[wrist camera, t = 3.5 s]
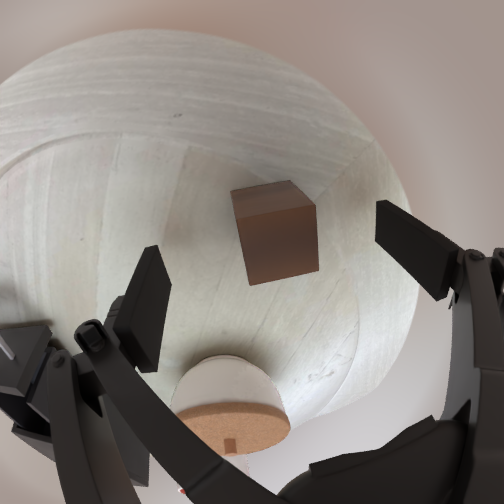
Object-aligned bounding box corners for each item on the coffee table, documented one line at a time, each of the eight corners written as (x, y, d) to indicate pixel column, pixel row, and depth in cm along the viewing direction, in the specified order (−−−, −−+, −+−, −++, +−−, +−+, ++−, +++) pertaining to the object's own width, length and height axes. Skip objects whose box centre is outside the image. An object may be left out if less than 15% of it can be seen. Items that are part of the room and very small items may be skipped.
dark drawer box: (31, 375, 24) (10, 431, 16) (98, 376, 25) (81, 450, 16) (87, 427, 32) (78, 475, 23) (151, 431, 32) (148, 487, 24)
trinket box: (179, 329, 22) (172, 426, 14) (291, 345, 25) (317, 429, 17) (166, 391, 27) (163, 465, 19) (255, 401, 30) (267, 469, 22)
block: (230, 191, 17) (236, 219, 13) (290, 180, 18) (315, 204, 13) (241, 245, 19) (249, 286, 15) (295, 233, 20) (319, 271, 15)
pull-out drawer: (-28, 300, 17) (-60, 346, 10) (23, 286, 17) (-18, 348, 11) (50, 399, 26) (37, 443, 19) (111, 403, 26) (102, 457, 19)
